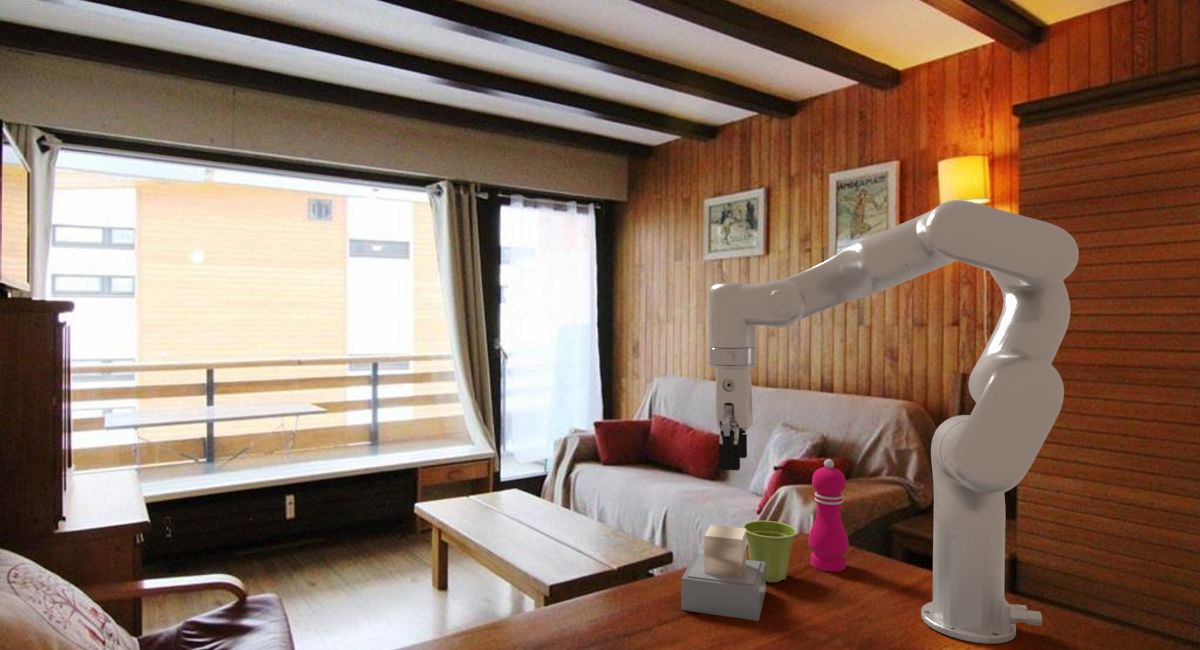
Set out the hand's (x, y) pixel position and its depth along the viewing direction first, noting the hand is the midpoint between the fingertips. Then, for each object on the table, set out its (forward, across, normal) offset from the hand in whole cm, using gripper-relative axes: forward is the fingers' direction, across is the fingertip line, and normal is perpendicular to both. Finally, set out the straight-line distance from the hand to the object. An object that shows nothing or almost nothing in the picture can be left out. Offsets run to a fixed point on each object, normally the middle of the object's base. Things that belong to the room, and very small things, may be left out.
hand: (733, 463), depth 111 cm
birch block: (+17, 0, +1) cm, 17 cm away
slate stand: (+22, 0, +2) cm, 23 cm away
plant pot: (+23, +13, -4) cm, 27 cm away
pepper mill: (+23, +22, -14) cm, 35 cm away
